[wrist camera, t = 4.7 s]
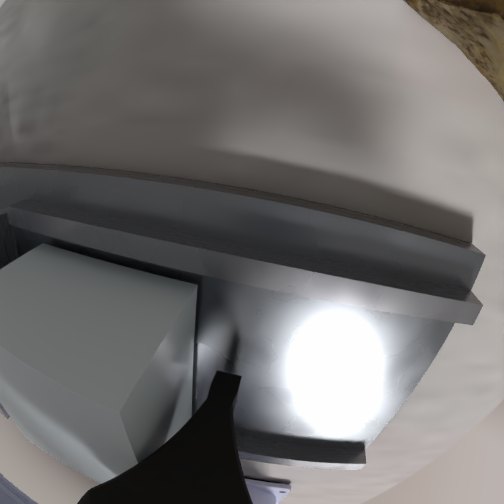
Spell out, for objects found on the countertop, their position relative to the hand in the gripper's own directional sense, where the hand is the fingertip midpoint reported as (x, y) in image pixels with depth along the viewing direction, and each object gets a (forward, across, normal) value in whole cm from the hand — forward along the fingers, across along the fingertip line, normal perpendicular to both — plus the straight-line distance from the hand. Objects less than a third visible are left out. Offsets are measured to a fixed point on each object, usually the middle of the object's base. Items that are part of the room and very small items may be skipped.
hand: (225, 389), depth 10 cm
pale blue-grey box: (+1, +6, +1) cm, 6 cm away
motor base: (+2, +5, 0) cm, 5 cm away
